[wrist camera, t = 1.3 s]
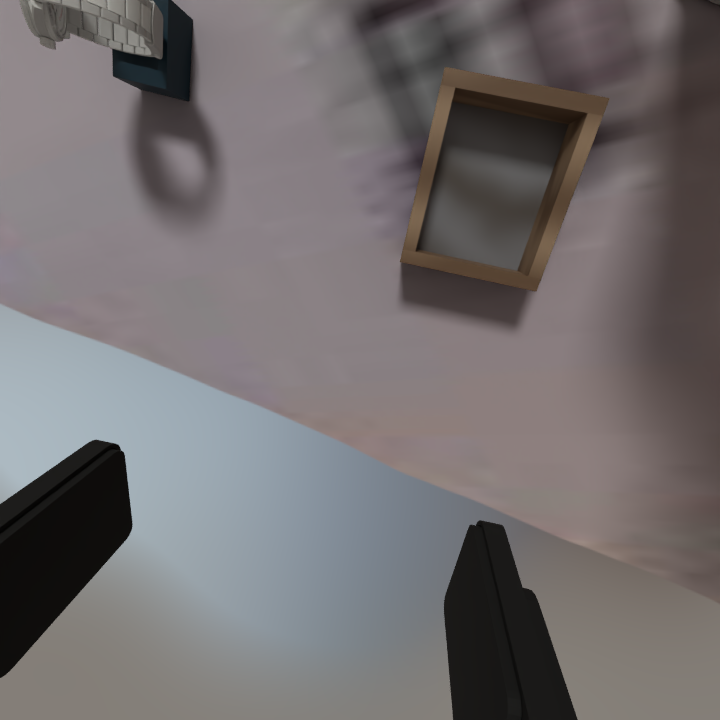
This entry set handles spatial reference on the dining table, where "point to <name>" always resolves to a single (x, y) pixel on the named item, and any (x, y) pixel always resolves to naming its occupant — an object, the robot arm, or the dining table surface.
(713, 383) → the dining table surface
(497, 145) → the wooden tray
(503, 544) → the robot arm
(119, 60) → the watch
